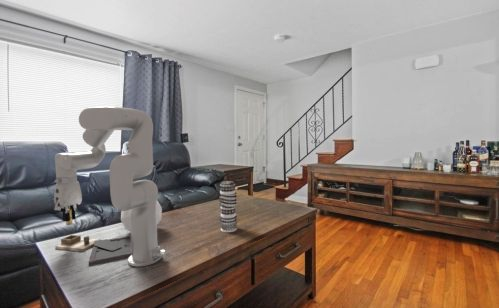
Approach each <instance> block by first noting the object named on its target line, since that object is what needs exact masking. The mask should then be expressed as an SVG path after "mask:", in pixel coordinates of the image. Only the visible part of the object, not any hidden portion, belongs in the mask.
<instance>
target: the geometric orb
mask: <svg viewBox="0 0 499 308" xmlns="http://www.w3.org/2000/svg"><path fill="white" fill-rule="evenodd" d="M131 211H132V209H130V210H126V211H120V221H121V223H122V226H123V227H124V229H125V230H127V231H128V232H131V226H130V215H131ZM162 212H163V207H162V206H161V204H160V202H159V201H158V200H157V205H156V218H157V219H156V221H157V225H158V224H159V223H160V221H161V220H162Z"/></svg>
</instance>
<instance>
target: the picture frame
mask: <svg viewBox="0 0 499 308" xmlns="http://www.w3.org/2000/svg"><path fill="white" fill-rule="evenodd" d="M131 255H132V246H131V235H127V236H121V237H115V238H109V239H101V240H98V241H94V244H93V247H92V250H91V253H90V255H89V259H88V266H93V265H99V264H103V263H108V262H112V261H117V260H122V259H128V258H129V257H130V256H131Z"/></svg>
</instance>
